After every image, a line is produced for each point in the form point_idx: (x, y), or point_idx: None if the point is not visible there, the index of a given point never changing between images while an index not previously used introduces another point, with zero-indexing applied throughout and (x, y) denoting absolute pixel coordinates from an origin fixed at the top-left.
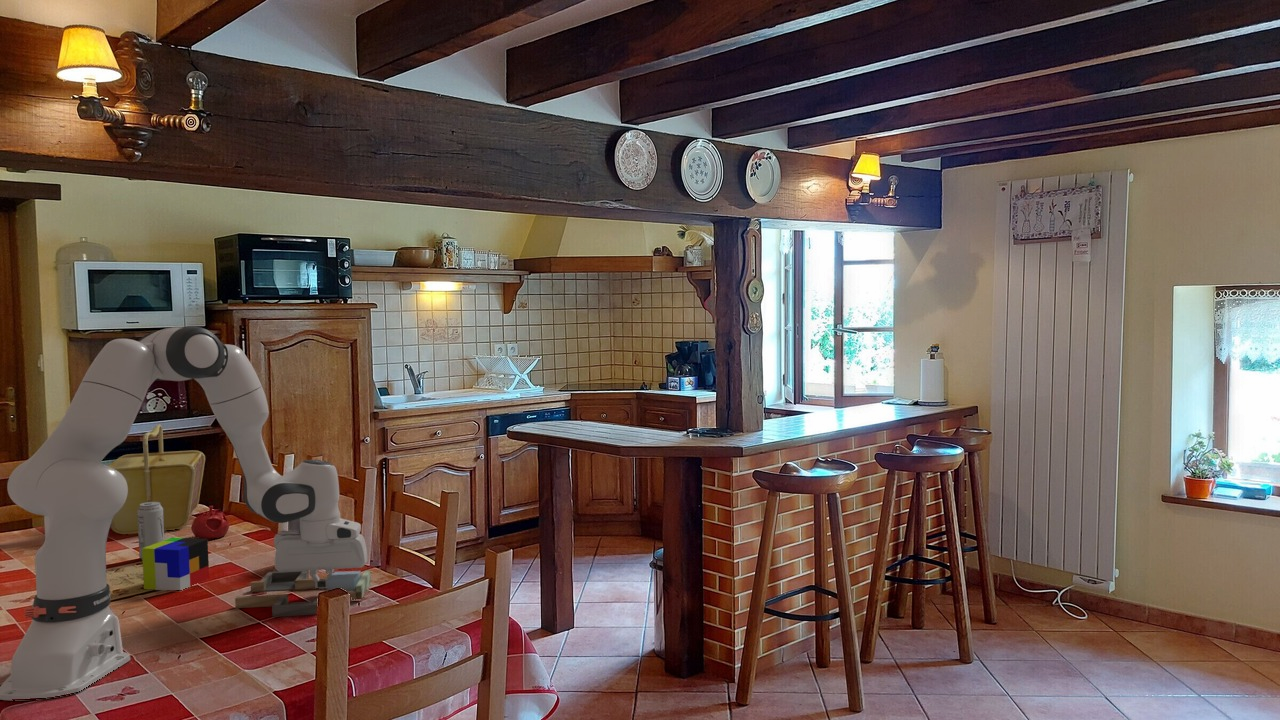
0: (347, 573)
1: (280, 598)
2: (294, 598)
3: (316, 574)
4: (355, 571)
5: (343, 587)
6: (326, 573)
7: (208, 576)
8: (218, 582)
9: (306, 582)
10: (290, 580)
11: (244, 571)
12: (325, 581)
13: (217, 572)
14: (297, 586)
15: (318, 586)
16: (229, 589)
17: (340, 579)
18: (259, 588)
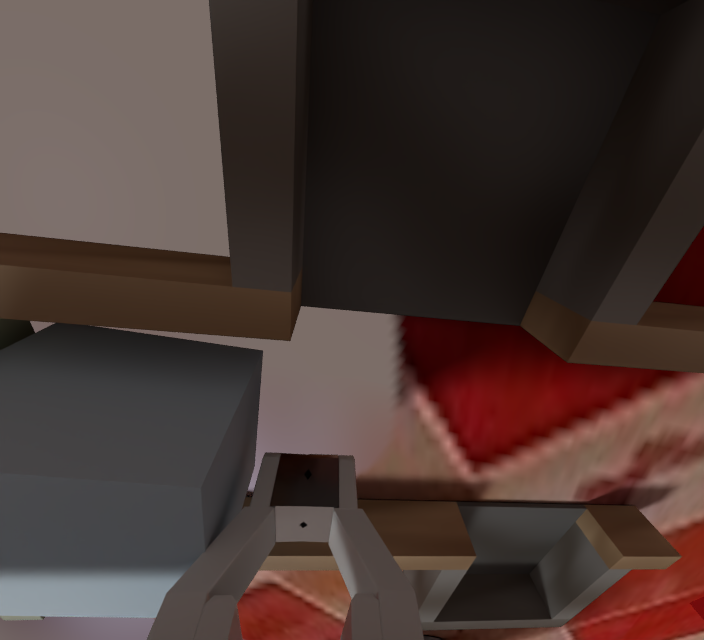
0: (58, 588)
1: (671, 254)
2: (469, 402)
3: (352, 593)
4: (8, 612)
5: (74, 390)
6: (231, 600)
7: (700, 612)
8: (684, 581)
9: (412, 539)
10: (467, 572)
11: (581, 626)
12: (270, 501)
13: (648, 626)
14: (450, 518)
15: (332, 465)
16: (688, 536)
17: (13, 470)
18: (614, 520)
